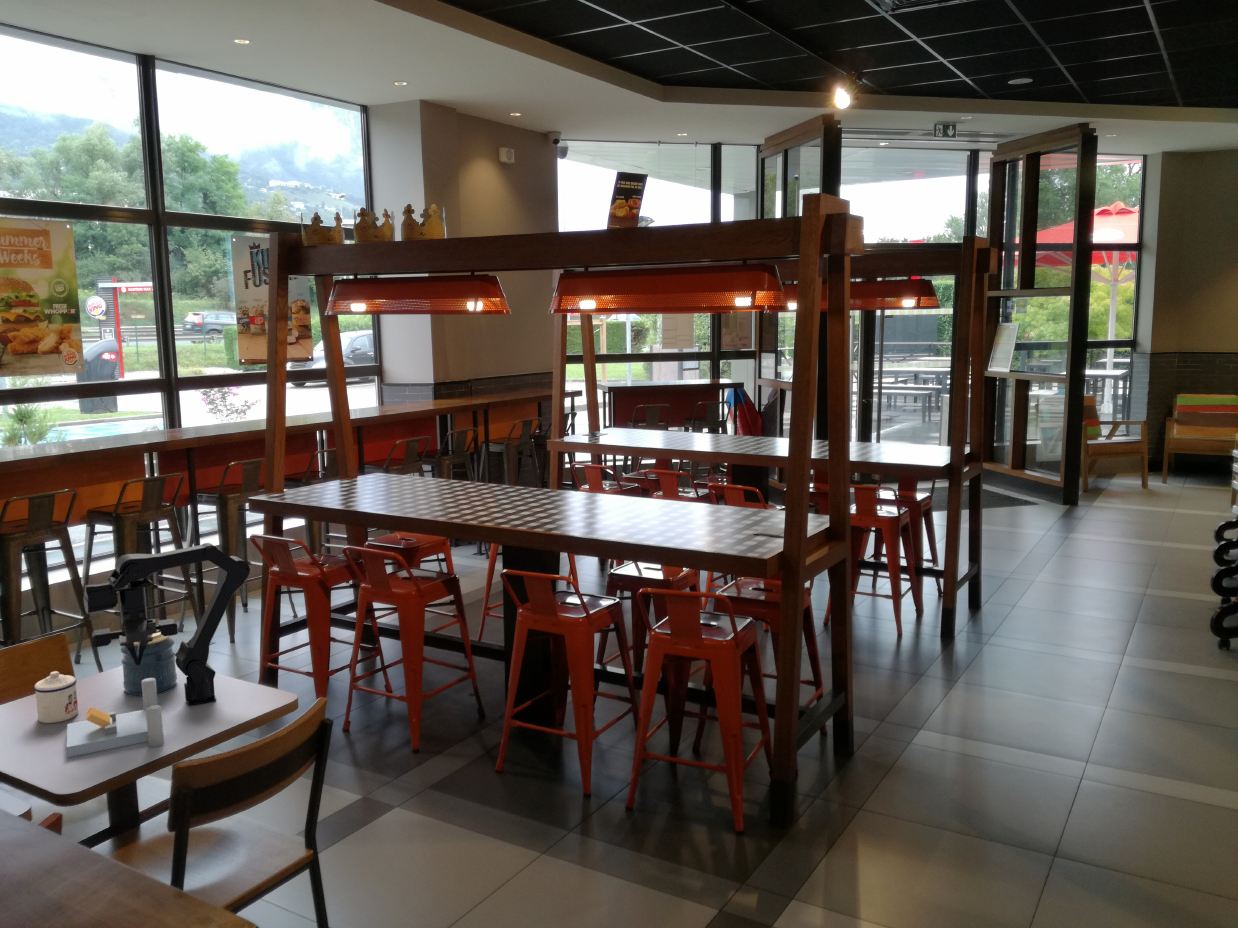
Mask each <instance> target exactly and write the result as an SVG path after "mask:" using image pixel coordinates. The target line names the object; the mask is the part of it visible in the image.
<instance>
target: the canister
mask: <svg viewBox="0 0 1238 928" xmlns="http://www.w3.org/2000/svg"><path fill="white" fill-rule="evenodd" d="M152 637H153V641H151V642H148V644H147V645H146V648H145V650H144V653H143V657H142V660H141V664H140V665H139V666H136V664H135V662H134V660H133V658H132V655H131V653H130V652H129V650H128V649H127V648H126V647H125V646H120V650H119V651H120V652H121V653H122V655H123V656H122V659H121V664H122V673H123V674H122V675H123V683H122V684H123V688H124V691H125V693H126V694H128V695H131V696H143V694H142V682H141V681H142V680H144V679H147V678H155V679H156V690H157V694H159V693H162V692H166V691H168V690H170V689H171V688H173V687H174V686H175V685H177V679H178V676H177V675H178V674H177V670H176V656H175V654H176V652H175V651H174V649H173V646H174V644H175V640H174V639H173V638H170V637H171V636H163V635H162V634H161V632H158V633H154V634H153V635H152ZM134 647H135V651H136V655H137V657H138V642H134Z"/></svg>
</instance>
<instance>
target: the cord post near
mask: <svg viewBox="0 0 1238 928" xmlns="http://www.w3.org/2000/svg"><path fill="white" fill-rule="evenodd" d="M146 720H147V732H148V741H147V742H148V747H150V748H156V747H160V746H162V745H163V744H164V743H165V741H164V732H163V731H164V729H163V728H164V727H163V716H162V706H161V705H159V704H158V705H152V706H149V707H147V708H146Z"/></svg>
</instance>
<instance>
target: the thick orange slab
mask: <svg viewBox="0 0 1238 928" xmlns="http://www.w3.org/2000/svg"><path fill="white" fill-rule="evenodd" d="M106 713H107V712H104V711H101V710H100V709H97V708H95V707H94V706H93V707H92V706H90V707H89V709H88V710H87V711H86V720H88V721H90V722H92V723H94V724H96V725H99V726H101V727H103V728H105V726H107V725H109V724H110V715H108V714H106Z"/></svg>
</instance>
